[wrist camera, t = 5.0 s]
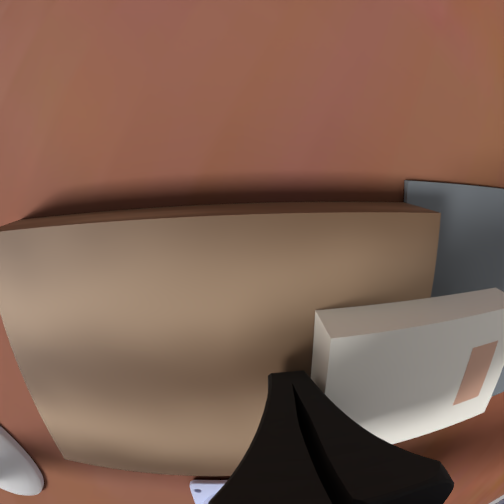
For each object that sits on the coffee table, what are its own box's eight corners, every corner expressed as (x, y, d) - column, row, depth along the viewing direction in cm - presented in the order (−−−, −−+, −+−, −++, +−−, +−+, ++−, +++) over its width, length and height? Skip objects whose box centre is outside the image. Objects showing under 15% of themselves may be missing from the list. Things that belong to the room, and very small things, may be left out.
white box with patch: (495, 287, 12) (523, 304, 10) (465, 390, 13) (484, 412, 11) (315, 310, 11) (331, 338, 9) (305, 428, 13) (315, 460, 11)
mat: (526, 378, 18) (528, 379, 18) (366, 431, 17) (368, 434, 17) (570, 198, 14) (572, 199, 14) (404, 180, 13) (407, 180, 13)
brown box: (369, 420, 17) (386, 454, 14) (80, 426, 16) (64, 459, 13) (403, 202, 13) (440, 212, 11) (20, 219, 13) (-18, 233, 10)
